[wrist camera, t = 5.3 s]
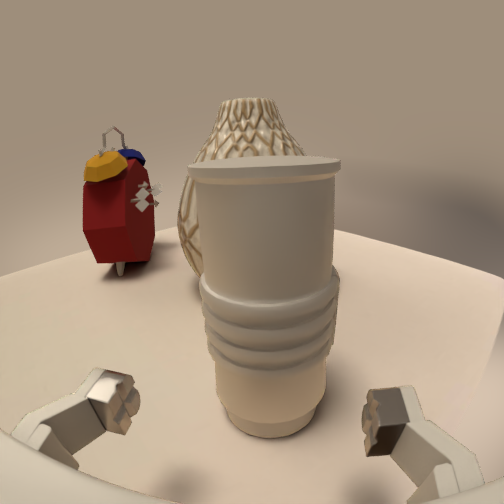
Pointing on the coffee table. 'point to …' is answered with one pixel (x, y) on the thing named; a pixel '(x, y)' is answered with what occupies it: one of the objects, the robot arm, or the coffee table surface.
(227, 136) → the vase
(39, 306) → the coffee table surface
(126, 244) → the alarm clock
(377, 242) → the coffee table surface
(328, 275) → the white travel cup
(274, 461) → the coffee table surface
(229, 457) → the coffee table surface
